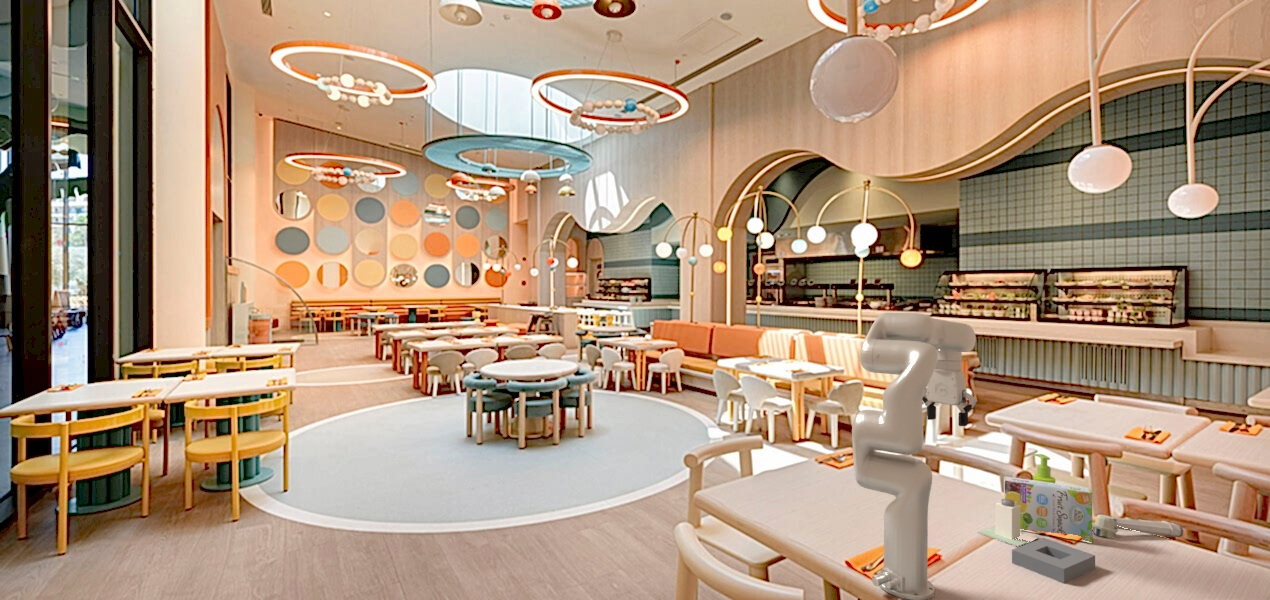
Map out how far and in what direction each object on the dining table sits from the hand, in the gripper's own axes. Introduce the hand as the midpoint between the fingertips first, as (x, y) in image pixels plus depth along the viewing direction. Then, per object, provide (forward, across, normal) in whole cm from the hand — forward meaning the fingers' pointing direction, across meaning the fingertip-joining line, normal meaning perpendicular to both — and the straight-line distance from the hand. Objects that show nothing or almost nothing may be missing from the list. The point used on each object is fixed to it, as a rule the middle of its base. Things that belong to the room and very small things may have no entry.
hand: (946, 422), depth 166 cm
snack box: (+34, +14, +27) cm, 45 cm away
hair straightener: (+34, +28, +49) cm, 66 cm away
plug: (+33, +10, +14) cm, 37 cm away
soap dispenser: (+34, +7, +40) cm, 53 cm away
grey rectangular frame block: (+33, +26, +5) cm, 43 cm away
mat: (+33, +10, +14) cm, 37 cm away
